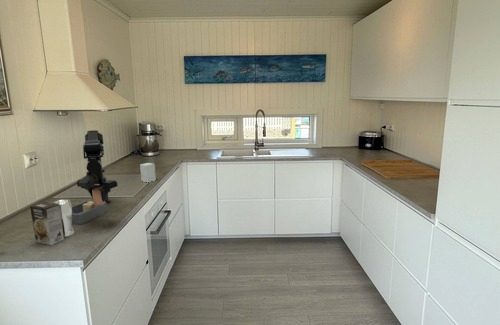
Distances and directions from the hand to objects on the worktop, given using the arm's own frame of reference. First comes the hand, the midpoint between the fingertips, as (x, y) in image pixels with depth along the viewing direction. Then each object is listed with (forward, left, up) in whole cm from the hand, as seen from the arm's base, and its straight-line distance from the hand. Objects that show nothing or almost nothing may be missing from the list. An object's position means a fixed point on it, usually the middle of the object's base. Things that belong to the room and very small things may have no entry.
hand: (99, 201), depth 149 cm
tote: (-4, -15, -11) cm, 19 cm away
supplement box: (-72, -26, -11) cm, 77 cm away
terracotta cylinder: (0, 0, -1) cm, 1 cm away
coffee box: (+22, -6, -11) cm, 26 cm away
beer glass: (+15, -5, -11) cm, 20 cm away
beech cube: (-8, -15, -10) cm, 20 cm away
